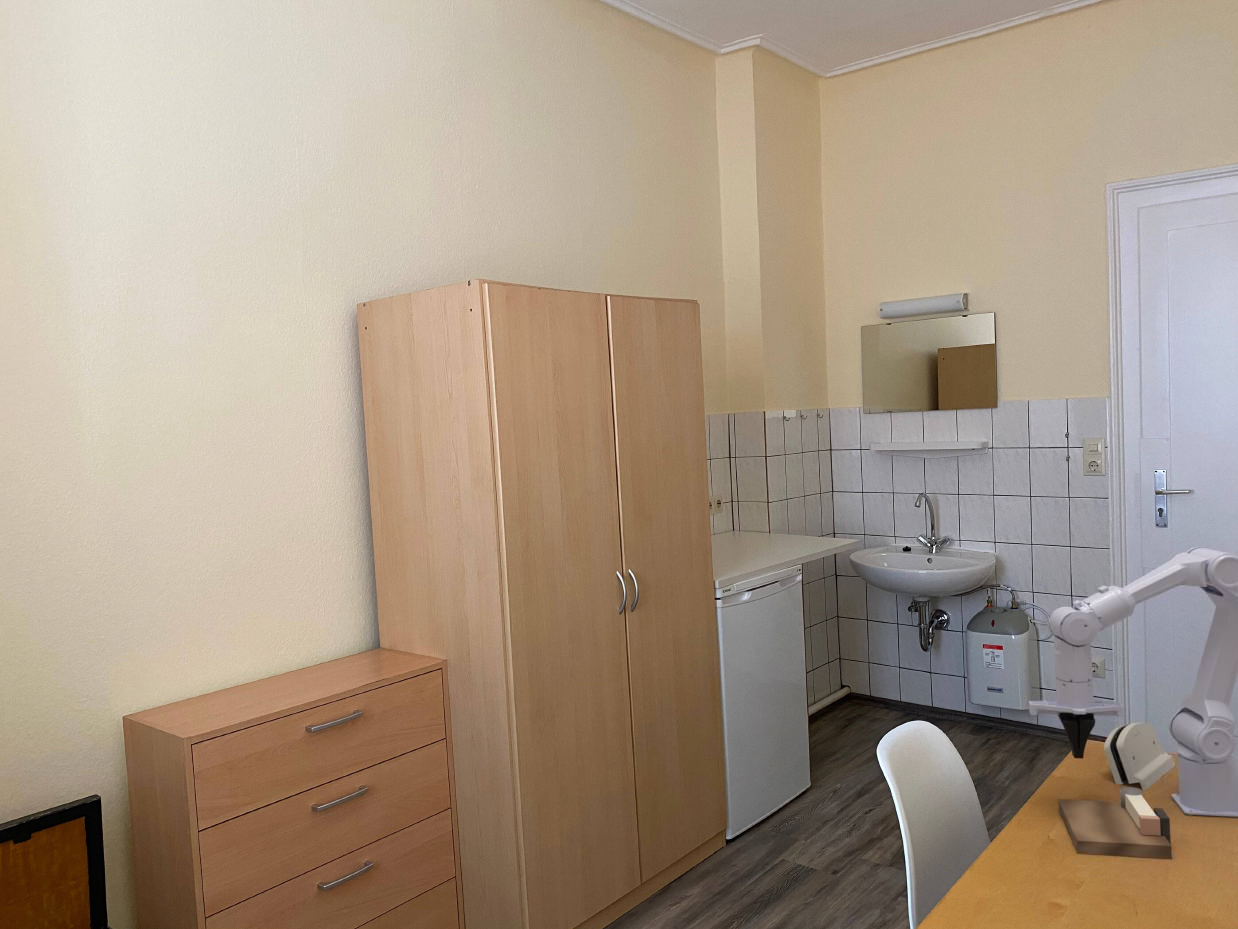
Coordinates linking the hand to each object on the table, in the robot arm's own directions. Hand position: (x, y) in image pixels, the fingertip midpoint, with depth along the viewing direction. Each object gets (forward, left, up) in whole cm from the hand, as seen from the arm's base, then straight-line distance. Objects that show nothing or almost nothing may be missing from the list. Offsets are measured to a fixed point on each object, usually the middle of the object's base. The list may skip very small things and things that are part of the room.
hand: (1077, 756), depth 159 cm
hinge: (-14, -20, -10) cm, 26 cm away
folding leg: (-8, +7, -7) cm, 13 cm away
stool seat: (-3, +9, -9) cm, 13 cm away
